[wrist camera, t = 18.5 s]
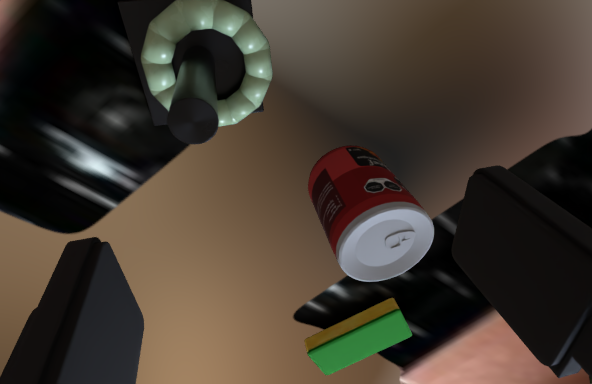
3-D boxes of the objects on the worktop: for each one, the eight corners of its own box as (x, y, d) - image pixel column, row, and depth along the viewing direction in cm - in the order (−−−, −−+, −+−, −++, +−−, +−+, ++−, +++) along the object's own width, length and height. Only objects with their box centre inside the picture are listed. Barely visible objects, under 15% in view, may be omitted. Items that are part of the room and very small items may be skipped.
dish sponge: (405, 322, 53) (413, 336, 51) (322, 361, 55) (326, 376, 53) (392, 295, 49) (400, 310, 47) (303, 338, 50) (306, 354, 48)
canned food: (391, 179, 38) (448, 246, 29) (330, 220, 40) (366, 297, 31) (359, 126, 34) (413, 186, 25) (291, 174, 36) (319, 248, 27)
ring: (164, 128, 29) (161, 138, 28) (127, 2, 24) (121, 5, 23) (275, 112, 31) (278, 121, 29) (261, -11, 26) (265, -9, 24)
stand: (155, 120, 30) (126, 212, 19) (120, -1, 25) (53, 31, 14) (262, 106, 31) (290, 185, 21) (248, -12, 26) (276, 10, 16)
